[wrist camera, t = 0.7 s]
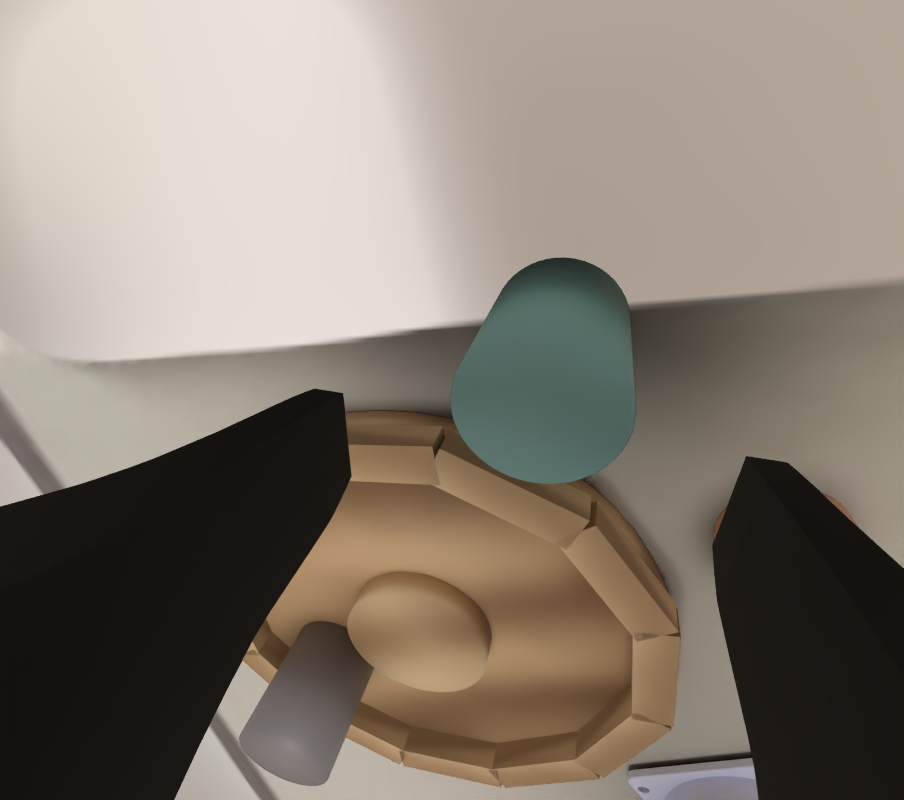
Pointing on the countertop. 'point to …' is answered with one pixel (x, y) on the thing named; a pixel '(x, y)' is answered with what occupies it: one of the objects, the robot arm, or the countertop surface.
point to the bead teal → (549, 375)
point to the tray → (484, 613)
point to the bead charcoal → (308, 706)
